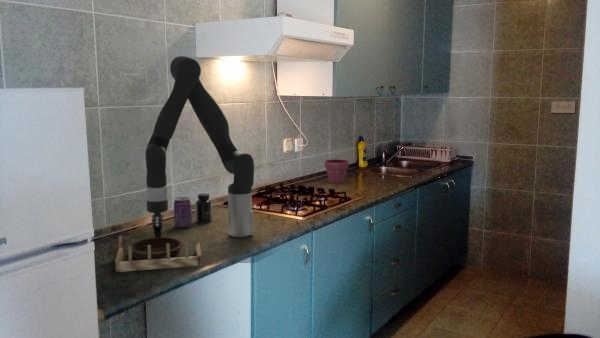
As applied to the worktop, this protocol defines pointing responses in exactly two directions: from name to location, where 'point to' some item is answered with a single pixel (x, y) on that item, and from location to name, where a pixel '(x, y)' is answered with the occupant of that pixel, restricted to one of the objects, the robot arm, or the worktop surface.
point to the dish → (156, 248)
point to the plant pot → (336, 170)
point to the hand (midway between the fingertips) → (158, 243)
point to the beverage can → (182, 212)
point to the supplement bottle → (203, 209)
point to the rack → (157, 263)
